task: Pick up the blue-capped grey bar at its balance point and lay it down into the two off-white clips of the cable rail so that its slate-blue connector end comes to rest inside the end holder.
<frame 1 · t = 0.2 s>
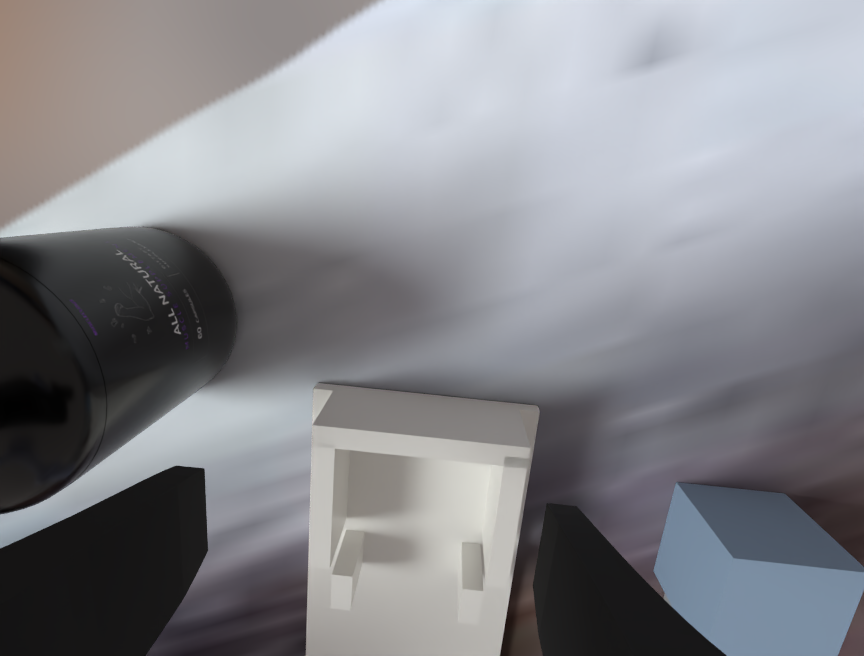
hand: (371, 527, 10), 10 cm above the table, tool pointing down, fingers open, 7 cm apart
blue-capped grey bar: (687, 634, 23), on the table
supplement bottle: (160, 308, 20), on the table
cable rail: (408, 586, 23), on the table
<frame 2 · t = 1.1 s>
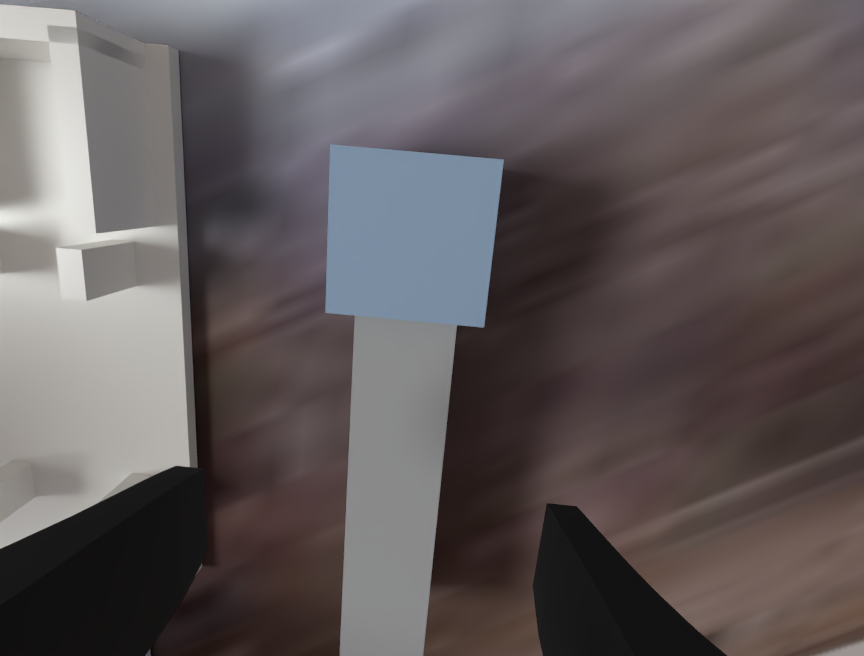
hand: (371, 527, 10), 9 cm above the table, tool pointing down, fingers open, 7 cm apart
blue-capped grey bar: (409, 372, 19), on the table
cable rail: (76, 316, 19), on the table
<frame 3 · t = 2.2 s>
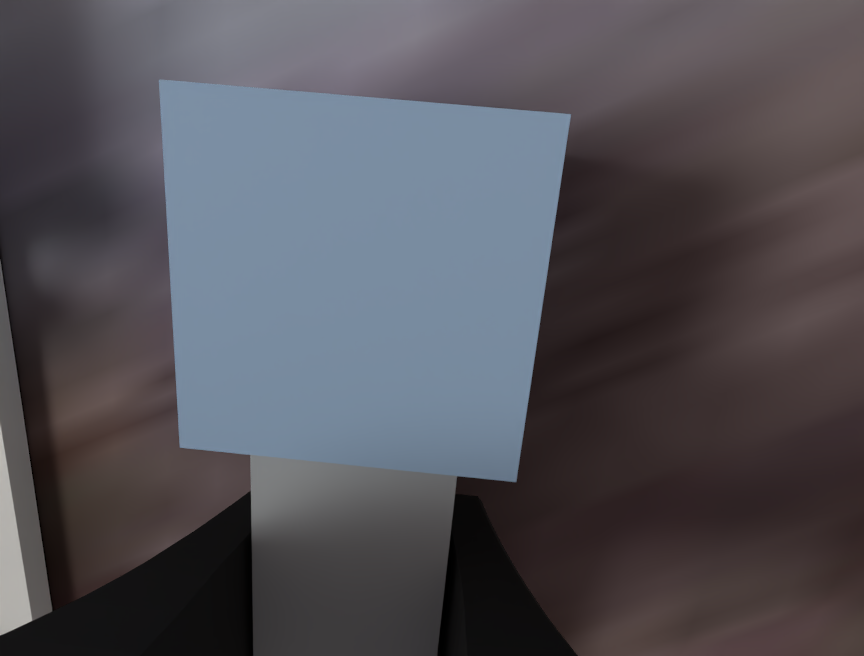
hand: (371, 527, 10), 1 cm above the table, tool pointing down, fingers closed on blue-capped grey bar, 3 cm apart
blue-capped grey bar: (381, 486, 12), on the table, touching gripper
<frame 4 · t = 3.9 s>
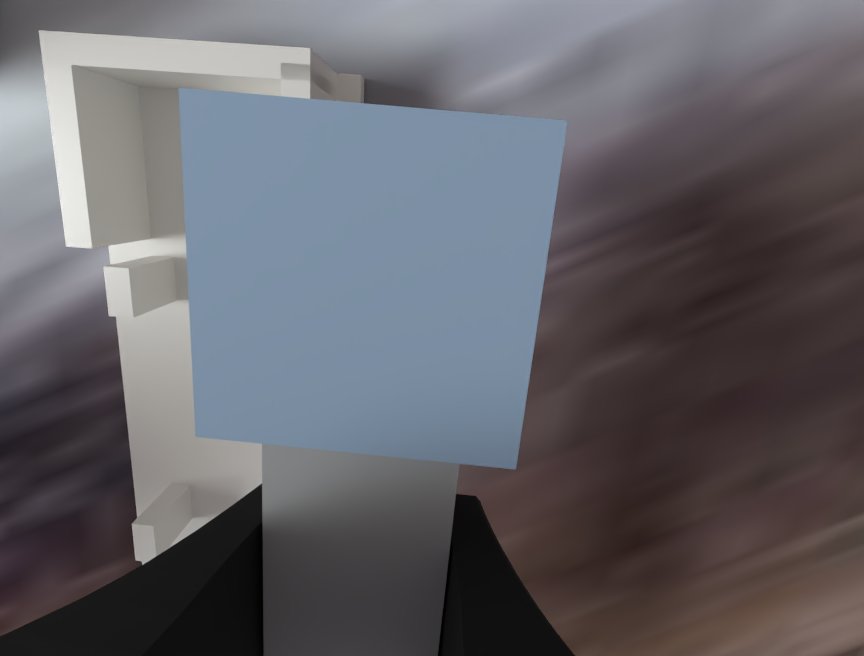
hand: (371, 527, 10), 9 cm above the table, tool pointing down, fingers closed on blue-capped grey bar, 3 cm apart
blue-capped grey bar: (385, 478, 12), point 7 cm above the table, touching gripper
cable rail: (241, 341, 19), on the table
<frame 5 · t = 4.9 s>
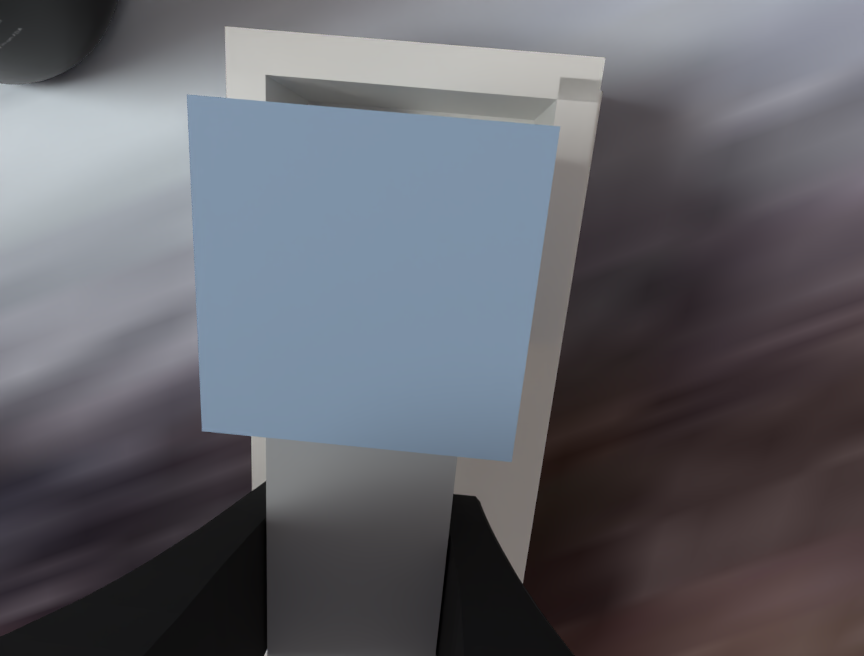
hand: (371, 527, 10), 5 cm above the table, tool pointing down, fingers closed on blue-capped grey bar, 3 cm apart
blue-capped grey bar: (385, 474, 12), point 3 cm above the table, touching gripper
cable rail: (399, 414, 16), on the table
when the fingers open (3 cm above the table, at t = 5.6 s): blue-capped grey bar stays where it is, resting on cable rail.
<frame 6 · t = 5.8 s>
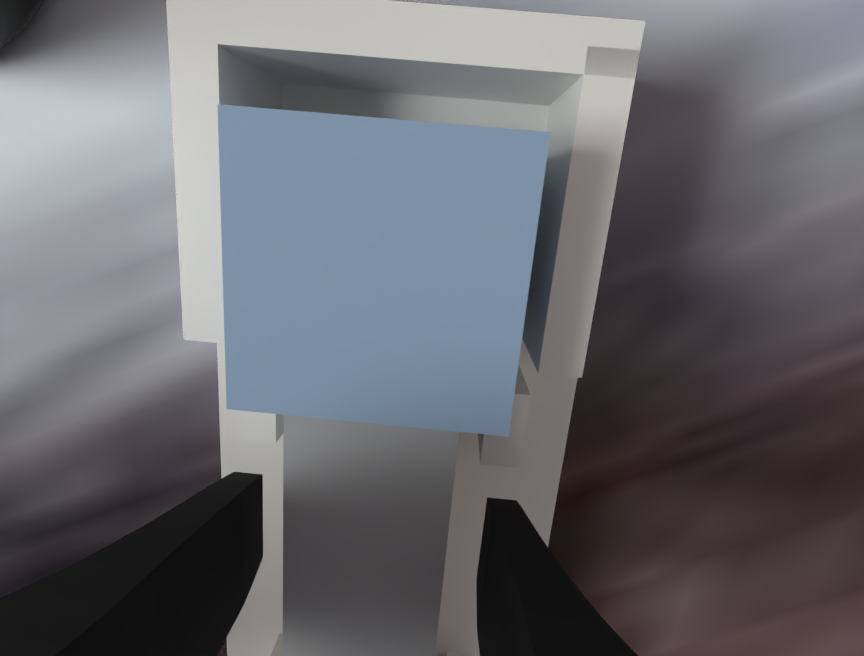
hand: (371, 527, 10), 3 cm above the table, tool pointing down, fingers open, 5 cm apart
blue-capped grey bar: (390, 459, 13), point 1 cm above the table, touching cable rail
cable rail: (391, 446, 14), on the table
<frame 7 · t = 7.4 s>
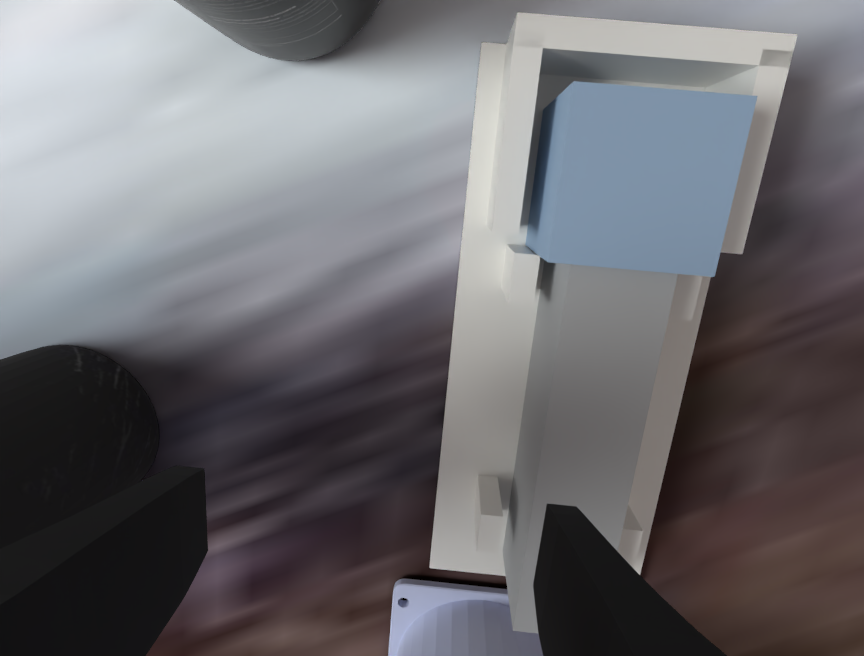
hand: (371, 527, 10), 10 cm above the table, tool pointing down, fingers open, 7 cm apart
blue-capped grey bar: (573, 337, 19), point 1 cm above the table, touching cable rail
travel mug: (82, 420, 22), on the table
cable rail: (569, 332, 19), on the table
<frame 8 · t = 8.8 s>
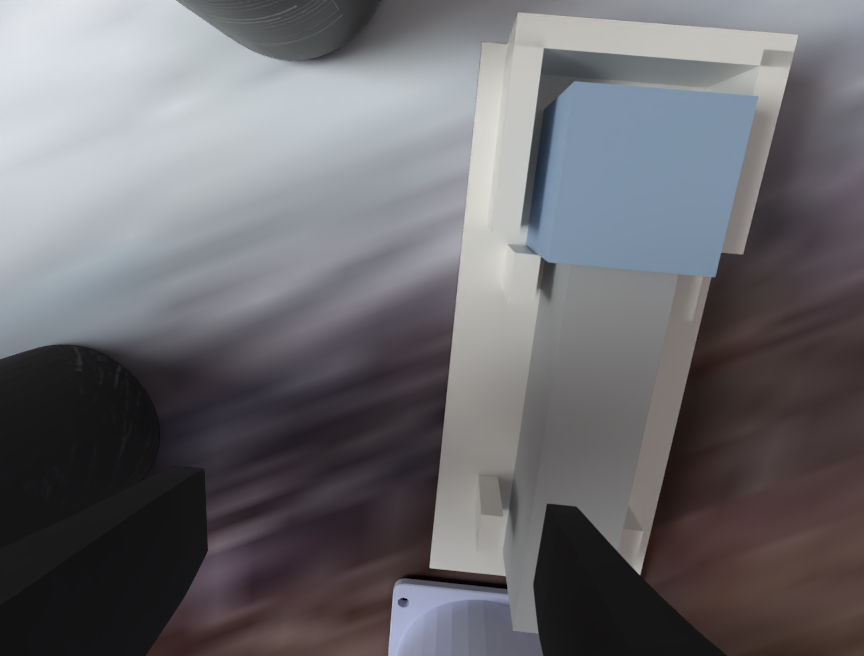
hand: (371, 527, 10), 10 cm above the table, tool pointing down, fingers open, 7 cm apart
blue-capped grey bar: (574, 338, 19), point 1 cm above the table, touching cable rail
travel mug: (82, 420, 22), on the table
cable rail: (569, 332, 19), on the table
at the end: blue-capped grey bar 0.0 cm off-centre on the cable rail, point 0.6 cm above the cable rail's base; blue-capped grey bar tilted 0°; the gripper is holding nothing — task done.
